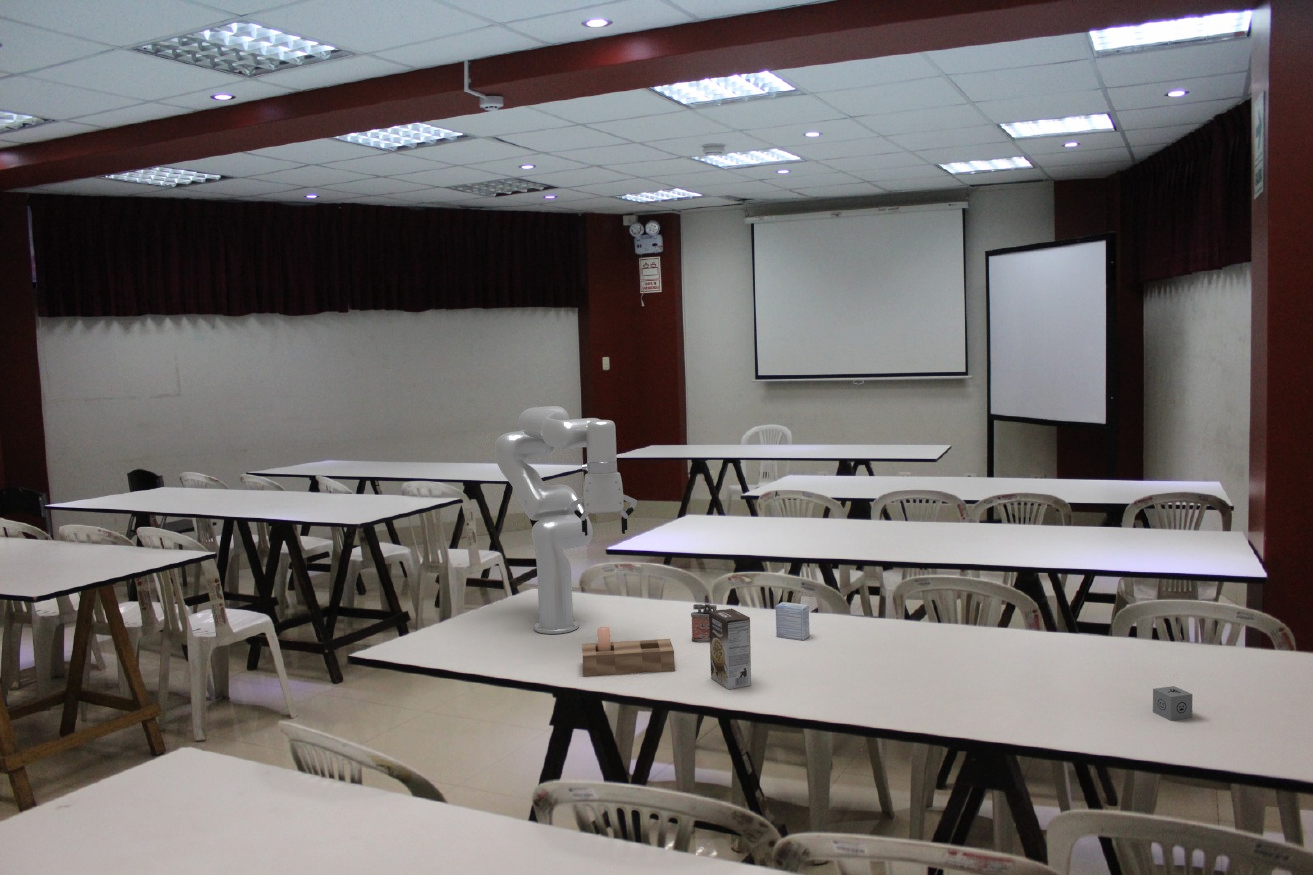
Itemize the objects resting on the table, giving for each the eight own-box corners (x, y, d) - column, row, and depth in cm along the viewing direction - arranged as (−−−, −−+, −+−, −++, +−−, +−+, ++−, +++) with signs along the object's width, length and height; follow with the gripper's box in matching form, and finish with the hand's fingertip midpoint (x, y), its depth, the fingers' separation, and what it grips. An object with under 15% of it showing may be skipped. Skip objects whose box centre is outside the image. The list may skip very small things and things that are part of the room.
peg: (598, 667, 240) (597, 627, 239) (611, 666, 240) (609, 626, 239) (599, 670, 237) (597, 630, 236) (611, 670, 237) (609, 629, 236)
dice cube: (1192, 718, 196) (1192, 694, 195) (1170, 721, 194) (1171, 697, 194) (1173, 709, 200) (1174, 686, 200) (1152, 712, 199) (1153, 688, 199)
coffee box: (709, 678, 229) (707, 611, 227) (733, 674, 231) (732, 607, 230) (727, 690, 220) (725, 620, 219) (752, 685, 223) (750, 616, 222)
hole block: (582, 663, 243) (582, 643, 242) (670, 658, 245) (669, 638, 244) (583, 676, 233) (582, 656, 232) (674, 671, 235) (674, 650, 234)
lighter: (722, 638, 260) (721, 602, 259) (721, 642, 256) (720, 605, 256) (692, 638, 261) (691, 602, 260) (691, 642, 257) (690, 605, 256)
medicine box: (810, 636, 259) (809, 604, 258) (803, 641, 255) (802, 608, 255) (783, 632, 263) (782, 601, 263) (775, 637, 260) (775, 605, 259)
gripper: (568, 471, 246) (571, 538, 247) (636, 468, 247) (639, 535, 249) (568, 468, 253) (571, 533, 255) (634, 465, 255) (637, 529, 256)
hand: (604, 534), depth 252 cm, fingers open, 9 cm apart
